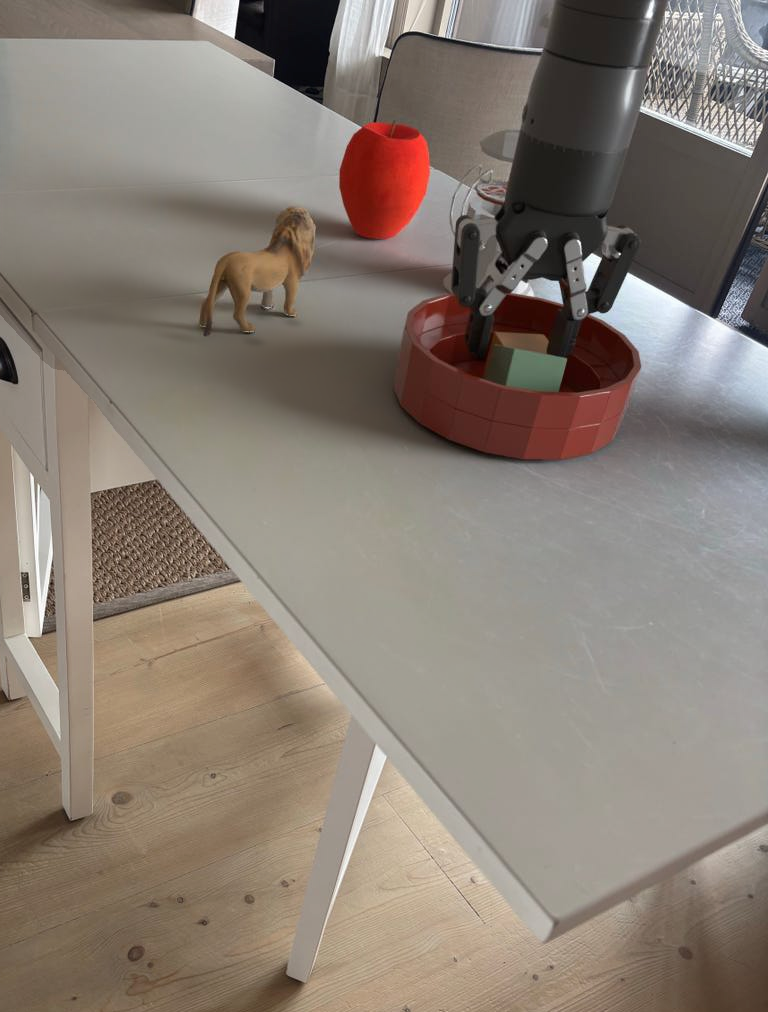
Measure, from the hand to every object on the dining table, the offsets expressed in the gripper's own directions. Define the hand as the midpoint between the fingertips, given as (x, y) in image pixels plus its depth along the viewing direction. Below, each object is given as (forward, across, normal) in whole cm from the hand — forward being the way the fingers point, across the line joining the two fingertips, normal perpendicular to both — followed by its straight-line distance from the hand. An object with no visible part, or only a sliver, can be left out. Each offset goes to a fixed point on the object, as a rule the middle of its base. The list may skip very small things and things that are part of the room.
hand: (515, 356), depth 78 cm
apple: (+6, -3, +41) cm, 41 cm away
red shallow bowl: (+5, +1, +2) cm, 6 cm away
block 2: (+2, 0, 0) cm, 2 cm away
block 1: (+5, +2, +3) cm, 6 cm away
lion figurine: (+6, -19, +18) cm, 27 cm away
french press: (+6, +6, +27) cm, 28 cm away
